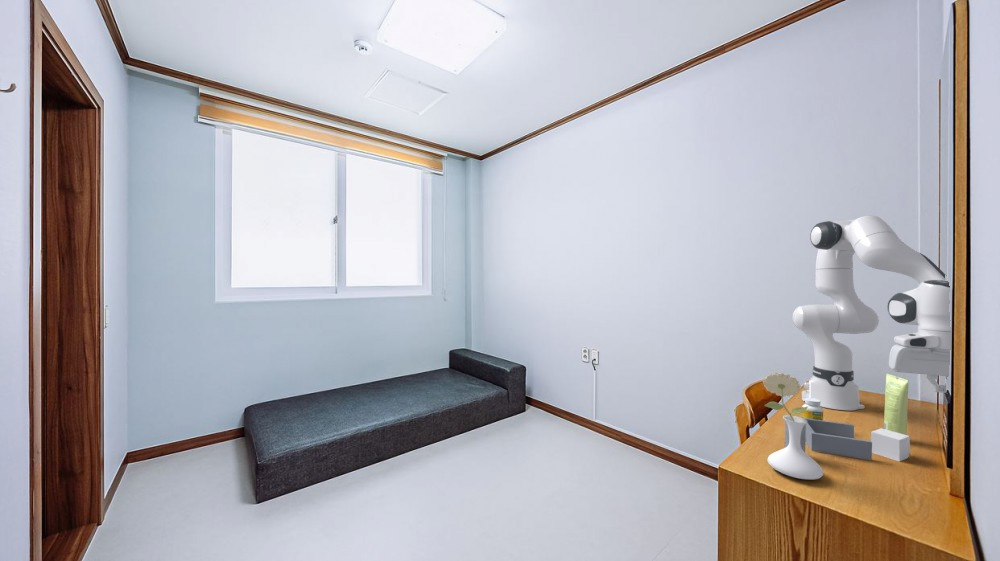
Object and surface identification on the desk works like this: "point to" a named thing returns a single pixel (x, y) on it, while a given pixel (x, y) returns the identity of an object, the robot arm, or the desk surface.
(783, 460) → the flower in vase
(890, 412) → the tube
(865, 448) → the box
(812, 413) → the supplement bottle
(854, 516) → the desk surface
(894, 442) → the white cube
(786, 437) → the grey hollow cylinder
